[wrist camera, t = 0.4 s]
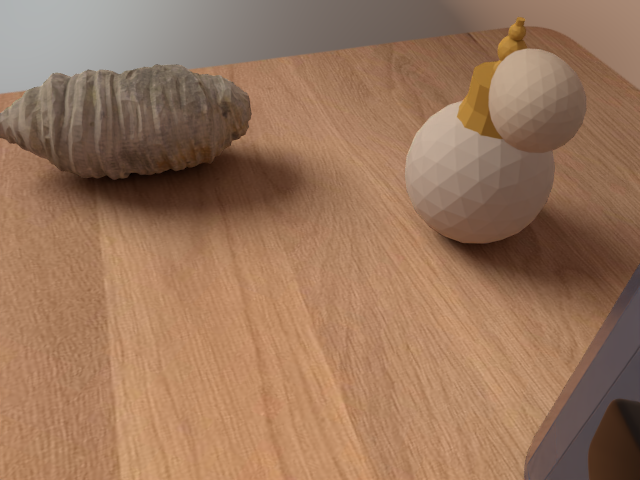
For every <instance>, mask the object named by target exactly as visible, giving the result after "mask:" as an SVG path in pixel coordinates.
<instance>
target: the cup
mask: <svg viewBox="0 0 640 480" xmlns="http://www.w3.org/2000/svg"><path fill="white" fill-rule="evenodd" d="M615 399H626V400H631V401H637V402H640V264H639V265H638V267H637V269H636V270H635V272H634V273H633V275H632V277H631V278H630V280H629V282H628V283H627V285H626V287H625V288H624V290H623V292H622V293H621V295H620V296H619V298H618V300H617V301H616V303H615V305H614V306H613V308H612V310H611V311H610V313H609V315H608V316H607V318H606V320H605V321H604V323H603V324H602V326H601V328H600V329H599V331H598V333H597V334H596V336H595V338H594V339H593V341H592V343H591V344H590V346H589V347H588V349H587V351H586V352H585V354H584V356H583V357H582V359H581V361H580V362H579V364H578V366H577V367H576V369H575V371H574V372H573V374H572V375H571V377H570V379H569V380H568V382H567V384H566V385H565V387H564V389H563V390H562V392H561V394H560V395H559V397H558V398H557V400H556V402H555V403H554V405H553V407H552V408H551V410H550V412H549V413H548V415H547V417H546V418H545V420H544V422H543V423H542V425H541V426H540V428H539V430H538V431H537V433H536V435H535V436H534V438H533V440H532V444H531V446H530V448H529V450H528V453H527V456H526V460H525V467H524V477H525V480H589V471H588V452H589V447H590V444H591V441H592V439H593V437H594V435H595V433H596V430H597V428H598V426H599V424H600V422H601V420H602V418H603V416H604V414H605V411H606V409H607V407H608V406H609V404H610V403H611V402H612V401H613V400H615Z"/></svg>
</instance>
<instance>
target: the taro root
mask: <svg viewBox="0 0 640 480" xmlns="http://www.w3.org/2000/svg"><path fill="white" fill-rule="evenodd" d="M251 114H252V113H251V108H250V100H249V96H248V94H247V93H246V92H244V91H243V90H241V89H240V88H239V87H237V86H236V85H235V84H234V83H233V82H231V81H228V80H227V79H225V78H223V77H222V76H220V75H217V76H212V75H208V74H202V75H199V74H197V73H192V72H191V71H190V70H188V69H187V68H185V67H183V66H182V65H162V66H161V65H158V64H157V65H154V66H153V67H152V68H151V67H143V68H138V69H135V70H130V71H125V72H124V73H122V74H117V73H115V72H113V71H109V70H99V71H97V72H96V71H92V70H87V71H84V72H82V73H81V74H75V75H74V76H73V77H70V76H67V75H64V74H61V73H55V74H54V73H53V74H52V75H51V76H50V77H49V78H48V79H47V80H46V81H45V82H44V83H43V86H41V87H34V88H32V89H29V90H27V91H26V92H25V93H24V94H23V96H22V97H21V98H20V99H18V100H16V101H15V102H14V103H13V104H12V105H11V106H10V107H8V108H6V109H5V110H4V111H3V112H2V113H0V138H3V139H6V140H8V142H9V143H13V144H15V143H17V144H18V145H19V146H20V147H21V148H22V149H24V150H27V151H30V152H32V153H34V154H35V155H37V156H40V157H42V158H46V159H48V160H49V161H50V162H51V164H54V165H55V166H56V167H57V168H58V169H60V170H61V171H66V172H71V173H74V174H77V175H78V176H80V177H82V178H90V177H94V178H97V179H98V178H101V177H103V176H106V175H107V176H108V177H110V178H111V179H113V180H116V179H118V178H127V177H128V176H129V175H130V173H138V174H140V175H144V174H147V175H151V174H154V173H162V172H163V171H167V170H169V169H173V170H175V171H178V170H183V169H184V168H186V167H194V166H197V165H198V164H201V163H209V164H211V163H212V161H213V160H214V158H215V157H216V156H219V155H220V154H221V152H222V150H224V149H225V148H227V147H229V146H231V142H232V141H233V140H237V139H239V138H240V137H241V136H243V135H245V134H246V131H247V129H248V127H249V125H248V121H249V120H250V119H251Z"/></svg>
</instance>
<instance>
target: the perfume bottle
mask: <svg viewBox="0 0 640 480" xmlns="http://www.w3.org/2000/svg"><path fill="white" fill-rule="evenodd" d="M524 21H525V19H524V18H521V17H518V18H517V20H516V23H515V24H513V25H512V26H511V27H510V29H509V36H507V37H505V38H503V40H502V41H501V42H500V44H499V46H498V56H499V58H500V60H499V61H495V62H485V63H482V64H480V65H479V66H477V67H475V68H474V71H473V75H472V80H471V84H470V88H469V92H468V94H467V96H466V97H465V99H464V100H463V101H460V102H457V103H454V104H451V105H448V106H446V107H445V108H443V109H442V110H440V111H439V112H437V113H436V114H434V115H433V116H431V117H430V118H429V119H428V120H427V121H426V123H425V124H424V125H423V126H422V127H421V128H420V130H419V131H418V132H417V133H416V135H415V137H414V140H413V142H412V144H411V147H410V149H409V152H408V154H407V158H406V168H405V180H406V188H407V192H408V195H409V197H410V199H411V202H412V204H413V207H414V209H415V211H416V212H417V213H418V214H419V215H420V217H421V218H422V219H423V220H424V221H425V222H426V223H427V224H428V225H429V226H430V227H431V228H432V229H434V230H435V231H437V232H438V233H440V234H441V235H443V236H445V237H448V238H451V239H453V240H456V241H459V242H462V243H481V244H487V243H491V242H495V241H499V240H503V239H505V238H507V237H510V236H512V235H515V234H517V233H519V232H520V231H521V230H523V229H524V228H525V227H526V226H527V225H529V224H530V223H531V222H532V221H533V220H534V219H535V218H536V216H537V215H538V214H539V212H540V211H541V210H542V208H543V207H544V205H545V204H546V202H547V200H548V197H549V194H550V192H551V189H552V185H553V180H554V170H555V165H554V158H553V152H552V150H555V149H557V148H559V147H561V146H563V145H565V144H566V143H567V142H568V141H569V140H570V139H572V138H573V137H574V135H575V134H576V132H577V131H578V129H579V128H580V127H581V125H582V123H583V119H584V116H585V112H586V95H585V91H584V88H583V85H582V83H581V81H580V79H579V77H578V75H577V73H576V72H575V71H574V70H573V69H572V68H571V67H570V66H569V65H568V64H567V63H566V62H565V61H563V60H562V59H560V58H559V57H557V56H556V55H554V54H552V53H549V52H547V51H544V50H541V49H527V46H526V44H525V42H524V41H523V40H522V39H523V38H524V36H525V35H526V29H525V27H524V26H523V25H524Z"/></svg>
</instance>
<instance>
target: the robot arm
mask: <svg viewBox="0 0 640 480" xmlns="http://www.w3.org/2000/svg"><path fill="white" fill-rule="evenodd" d="M588 471H589V480H640V402H637V401H631V400H626V399H615V400H613V401H612V402H611V403H610V404H609V406H608V407H607V409H606V411H605V414H604V416H603V418H602V420H601V422H600V424H599V426H598V428H597V430H596V433H595V435H594V437H593V439H592V441H591V444H590V447H589V452H588Z"/></svg>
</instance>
